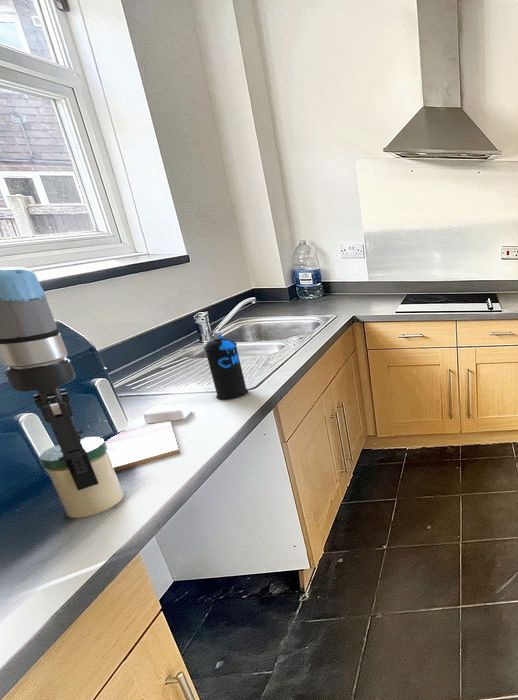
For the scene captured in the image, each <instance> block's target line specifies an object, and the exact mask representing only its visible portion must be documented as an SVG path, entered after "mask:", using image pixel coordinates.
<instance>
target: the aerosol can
mask: <svg viewBox="0 0 518 700" xmlns="http://www.w3.org/2000/svg"><path fill="white" fill-rule="evenodd" d="M212 334H213V335H212V336H213V339H212V340H210V341H208V342H207V343H206V344H205V346H204V347H203V350H204V351H205V355H206V358H207V359H206V360H207V362H208V367H209V370H210V373H211V374H210V375H211V378H212V382H213V384H214V389H215V392H216V395H215V396H216V398H217V399H218V400H223V401H225V400H234V399H239V398H242V397H243V396H245V395H247V394H248V393H249V390H248V388H247V386H246V381H245V377H244V373H243V369H242V364H241V361H240V360H241V359H240V356H239V353H238V348H237V345H238V344H237V342H235V341H233V340H232V339H230V338H225V337H223V335H222V331H221V330H217V331H213V332H212Z"/></svg>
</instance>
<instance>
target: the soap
mask: <svg viewBox="0 0 518 700" xmlns="http://www.w3.org/2000/svg"><path fill="white" fill-rule="evenodd" d="M191 407H192V406H191V404H190V403H189V402H184V403H175V404H174V403H173V404H166V405H165V404H164V405H155V406H152V407H150V408H149V410H147V411H146V412H145V413H143V419H144V422H145V423H146V424H147V425H150V424H155V423H159V422H163V421H167V420H170V421H171V422H173V421H174V422H175V421H181V420H185V419H186V418H187V417H189V415H190V414H191V412H192V408H191Z"/></svg>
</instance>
